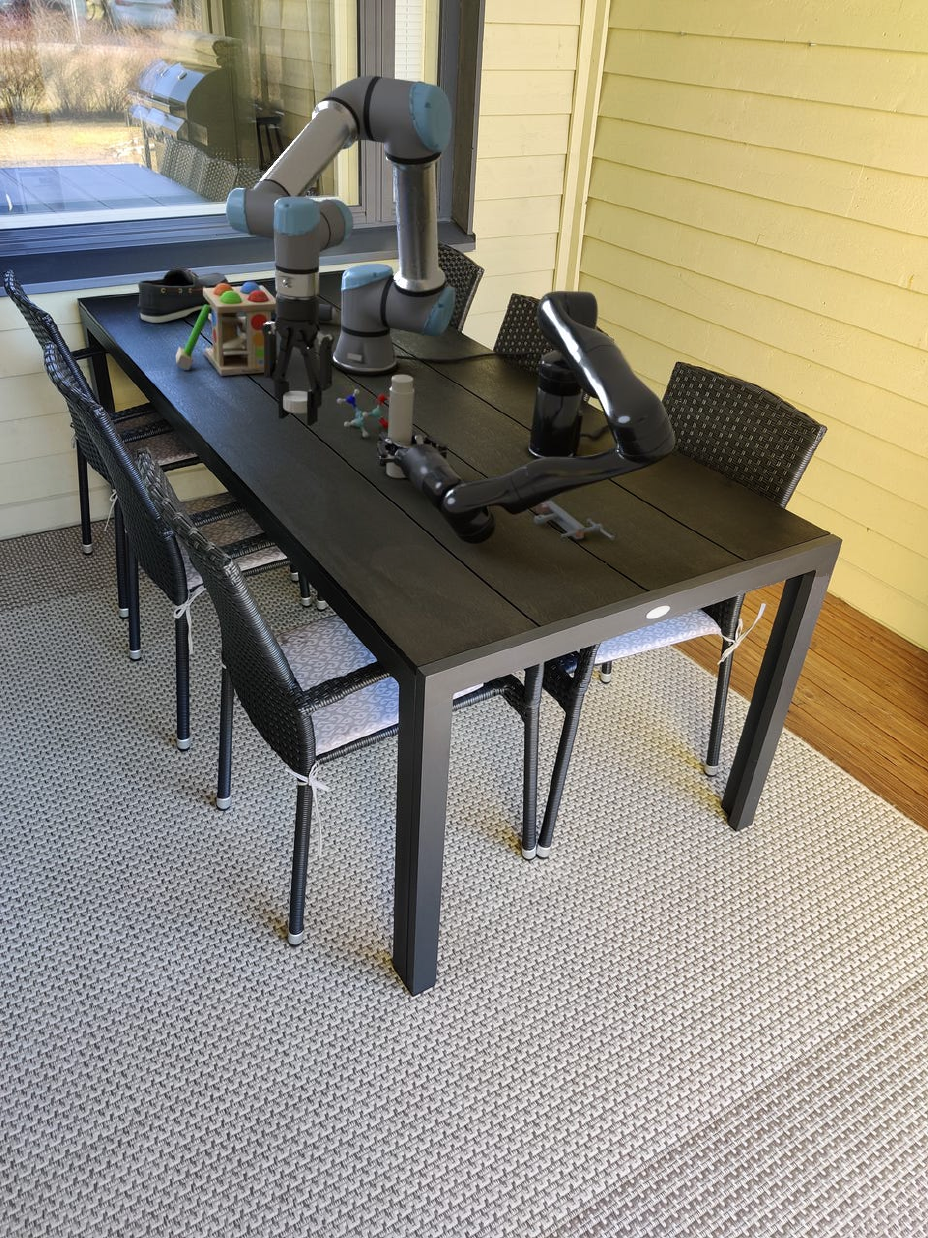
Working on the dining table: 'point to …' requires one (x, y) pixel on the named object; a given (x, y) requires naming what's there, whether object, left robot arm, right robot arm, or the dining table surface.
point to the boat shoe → (175, 294)
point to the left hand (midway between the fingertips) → (298, 419)
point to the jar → (400, 416)
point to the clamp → (565, 521)
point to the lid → (295, 401)
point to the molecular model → (360, 415)
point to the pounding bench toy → (232, 329)
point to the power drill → (324, 313)
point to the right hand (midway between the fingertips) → (394, 434)
